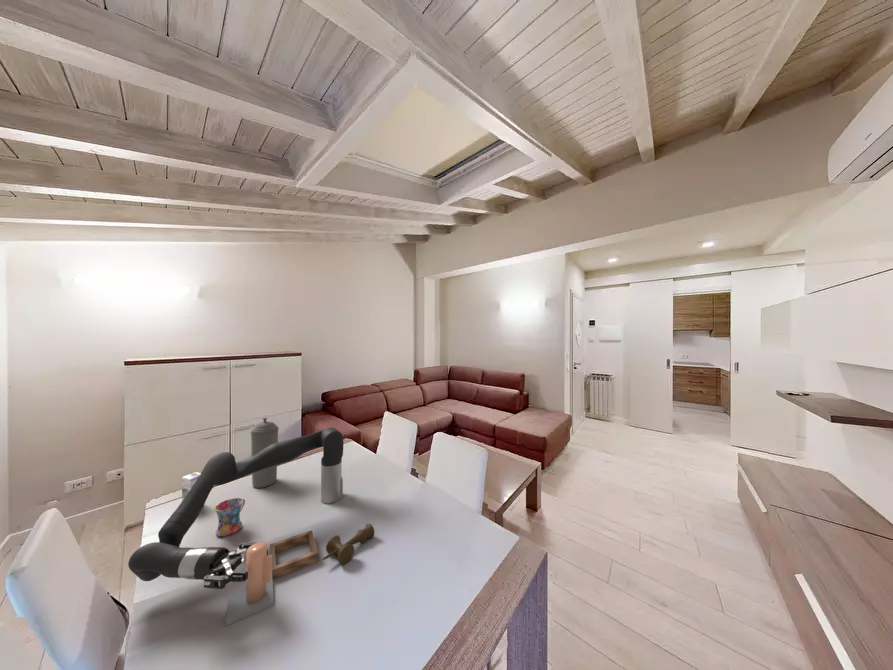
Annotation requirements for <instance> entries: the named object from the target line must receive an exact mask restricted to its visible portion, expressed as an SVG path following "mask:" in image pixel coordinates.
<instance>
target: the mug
mask: <svg viewBox="0 0 893 670" xmlns="http://www.w3.org/2000/svg"><path fill="white" fill-rule="evenodd" d="M245 504H246V500H245V498H241V497H240V498H239V497H234V498H228V499H226V500H223V501H221V502H219V503H218V504H217V505H216V506H215V507H214V511H215V513H216V515H217V518H218V524H217V529H216V530H215V535H216V536H218V537H227V536H230V535H232V534H234V533H236V532H237V531H239V530H240V529H241V528H242V526H243V523H242V521H241V517H240V514H241V512H242V510H243V508H244V506H245Z"/></svg>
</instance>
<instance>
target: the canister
mask: <svg viewBox="0 0 893 670" xmlns="http://www.w3.org/2000/svg"><path fill="white" fill-rule="evenodd" d="M268 418H269V417H262V419H261V420H263V421H261V422H259V423H257V424H256V425H255V426H254V427H253V428H252V429H251V431H250V443H251V444H250V447H251V457H252V456H254V455H256V454H257V453H259V452H260V451H262V450H263V449H265V448H266V447H268V446H270V445H272V444H275V443H278V442H279V426H278V425H277V424H276V423H275V422H274V421H272V420H271V421H268ZM277 473H278V465H276V466H272V467H269V468H266V469H263V470H260V471H257V472H254V473H251V481H252V482H251V483H252V487H253V488H257V489H258V488H266V487H269V486H271V485H273V484H275V483H276V482H277V480H278V479H277V478H278V475H277Z"/></svg>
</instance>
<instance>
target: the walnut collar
mask: <svg viewBox="0 0 893 670" xmlns="http://www.w3.org/2000/svg"><path fill="white" fill-rule="evenodd" d="M314 536H315V535H314V533H313V529H311V530H308V531H306V532H302V533H300V534H297V535H293V536H291V537H288V538H285V539H282V540H279V541H275V542H273V543H270V544H269V555H272V579H273V580H275V579H277V578H281V577H283V576H285V575H288V574H291V573H292V572H295V571H298V570H300V569H303V568H305V567H308V566H310V565H313V564H315V563H318V562H319V551H318V548H317V544H316V541H315V537H314ZM306 543H308V546H309V550H310V552H309V553H305V554H304V555H301V556H299V557H295V558H292V559H290V560H288V561H284V562H282V563H280V564H277V563H276V562H277V561H276V554H278V553H280V552H284V551H286V550H288V549H292V548H295V547H297V546H300V545H303V544H306Z"/></svg>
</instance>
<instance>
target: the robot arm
mask: <svg viewBox="0 0 893 670" xmlns="http://www.w3.org/2000/svg"><path fill="white" fill-rule="evenodd" d="M318 448H319V449H320V448H323V449H322V451H323V452H322V453H323V454H322V457H321V459H320V464H321V466H320V467H321V468H320V472H321V473H320V497H321V498H320V501H321V503H323V504H333V503H337V502H339V501H340V500H341V499H343V498H344V497H343V496H344V495H343V494H344V492H343V491H344V487H343V485H344V479H343V475H342V473H343V470H342V467H343V465H342V459H343V455H344V435H343V434H342V432H341V431H339V430H338V429H337V428H335V427H327V428H323V429H321V430H318V431H316V432H313V433H310V434H307V435H302V436H298V437H295V438H291V439H286V440H283V441H282V440H281V441H278V443H275V444H272V445H270V446H268V447H266V448H265V449H263V450H262V451H260V452H259V453H257V454H256V455H254V456H252V455H251V456H250V457H249V458H245V459H242V460H240V461H236V458H235V457H236V456H234V454H233V453H231V452H228V451H222V452H219V453H216V454H214V455H213V456H212V457H211V458H209V459H208V461H207V462H206V463H205V466H204V467H203V469H202V470H201V472H200V473H201V474H200V476H199V477H198V479H197V480H196V482H195V484H194V485H193V487H192V488H191V490H190V491H189V493H188V494H187V496H186V497H185V498H184V500H183V501H182V500H181V502H180V503H179V505H178V506H177V508H176V509H175V510H174V511H173V513H172V514H171V515H170V517H169V518H168V519H167V520H166V521H165V523H164V524H163V525H162V527H161V528H160V529H159V530H158V533H157V537H158V539H159V540H158V542H157V541H155V542H154V541H153V542H151V543H147V544H143V546H141V547H139V548H138V549H136V550H135V551H134V552H133V553H132V554H131V556H130V557H129V560H128V565H127V567H128V568H129V570H130V571H131V572H132V574H134V575H135V576H137V578H139V579H140V580H141V581H143V582H151V581H153V580H155V579H157V578H159V577H160V576H161V575H162V576H163V577H165V578H169V579H170V578H171V579H173V578H174V579H175V578H176V579H185V580H196V581H197V580H199V581H200V580H201V581H203V588H204V589H213V590H215V589H216V590H223V589H225V588H226V585H228V584H231V583H233V582H234V583H235V582H237V583H238V582H239V583H240V582H242V583H243V582H246V580H247V579H248V572H247V571H245V570H236V569H237V567H238V566H240V565H241V564H244V563H246V560H247V549H248V548H249V547H250V546H252V545H253V544H256V543H259V542H257V541H256V542H240V543H238V548H237V549H235V550H229V549H228V548H227V547H224V546H222V547H221V546H217V547H216V546H199V547H181V544H182V541H183V539H184V536H185V535H186V534H187V533H188V531H189V530H190V528H191V527H192V526H193V524H194V523H195V522H196V520H197V518H198V517H199V515H200V513H201V512H202V509H203V508H204V505H206V501H207V499H208V497H209V495H210V493H211V492H212V489H213V488H214V487H215V486H221V485H225V484H228V483H230V482H233V481H236V480H238V479H241V478H243V477H245V476H248V475H252V473H254V472H257V471H260V470H263V469H266V468H269V467H272V466H276V465H277V466H279V465H282V464H285V463H289V462H292V461H293V460H296V459H298V458H299V457H300V456H302V455H303V454H305V453H307V452H309V451H311V450H314V449H318ZM243 554H244V556H243ZM267 555H269V549H268V548H267Z"/></svg>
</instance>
